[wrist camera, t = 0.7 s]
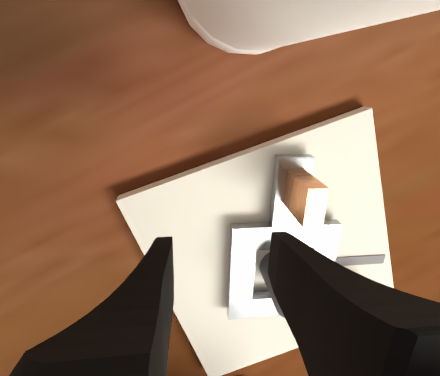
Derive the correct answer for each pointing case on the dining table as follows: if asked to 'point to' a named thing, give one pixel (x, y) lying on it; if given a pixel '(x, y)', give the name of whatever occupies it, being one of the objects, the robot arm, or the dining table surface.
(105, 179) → the dining table surface
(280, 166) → the grey metal bracket
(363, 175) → the base board
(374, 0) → the bottle
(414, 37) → the dining table surface
